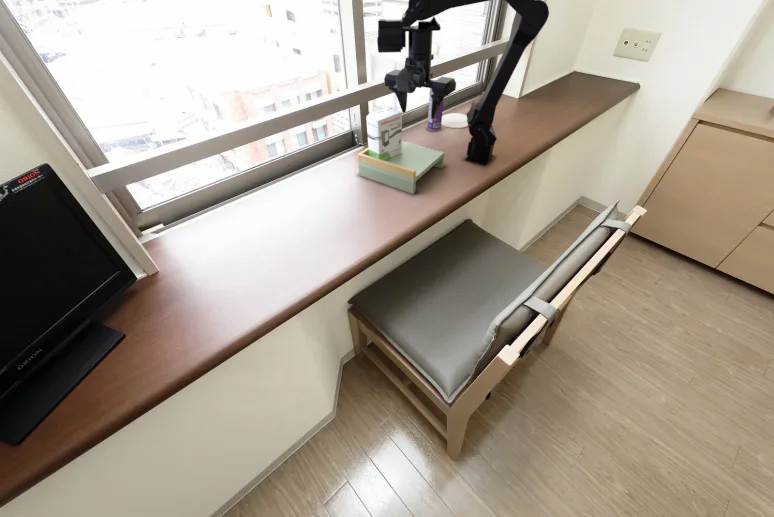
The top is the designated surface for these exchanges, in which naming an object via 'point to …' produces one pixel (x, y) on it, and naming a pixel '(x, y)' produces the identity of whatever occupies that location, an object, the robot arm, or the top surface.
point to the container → (436, 122)
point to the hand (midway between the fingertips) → (418, 115)
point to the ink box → (384, 133)
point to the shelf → (400, 166)
